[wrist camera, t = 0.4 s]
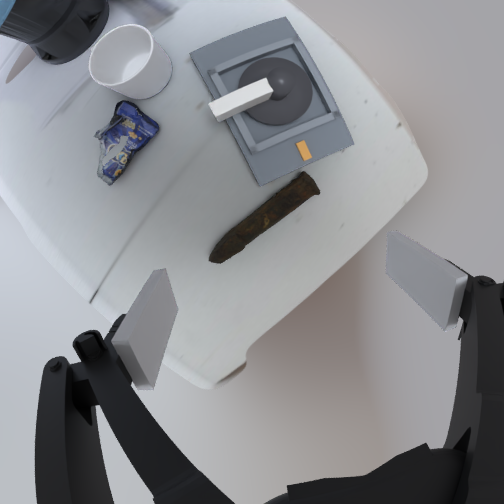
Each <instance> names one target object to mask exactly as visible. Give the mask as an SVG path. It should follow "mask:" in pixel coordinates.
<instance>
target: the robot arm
mask: <svg viewBox="0 0 504 504" xmlns="http://www.w3.org/2000/svg"><path fill="white" fill-rule="evenodd" d="M108 15H109V6H108V3H107V1H106V0H0V34H1V35H4V36H7V37H10V38H13V39H16V40H19V41H22V42H25V43H27V44H29V45H30V46H31V48H32V49H33V50H34V52H35V53H36V54H37V56H38V57H39V58H40V59H42V60H43V61H46V62H48V63H51V64H62V63H65V62H68V61H70V60H72V59H74V58H76V57H77V56H79V55H80V54H81V53H83V52H84V51H85V50H86V49H87V48H88V47H89V46H90V45H91V44H92V43H93V42H94V41H95V40H96V39H97V37H98V36H99V35H100V33H101V32H102V30H103V28H104V26H105V24H106V22H107V19H108ZM386 255H387V256H386V274H387V275H388V276H389V277H390V278H391V279H392V280H393V281H394V282H395V283H396V284H398V285H399V286H400V287H401V288H402V289H403V290H404V291H405V292H406V293H407V294H408V295H409V296H410V297H411V298H412V299H413V300H414V301H415V302H416V303H417V304H418V305H419V306H420V307H421V308H422V309H423V310H424V311H425V312H426V313H427V314H428V315H429V316H430V317H431V318H432V319H433V320H434V321H435V322H436V323H437V324H438V325H439V326H440V327H441V328H442V329H443V330H444V331H445V332H446V331H448V330H451V329H453V328H455V327H456V326H457V322H458V318H459V316H460V317H461V318H462V319H463V324H462V328H461V331H460V334H459V338H458V340H460V338H461V351H460V363H459V374H458V381H457V389H456V395H455V402H454V408H453V412H452V417H451V422H450V427H449V431H448V435H447V439H446V442H445V444H444V447H443V448H438V449H429V447H428V445H427V443H424V444H422V445H420V446H418V447H416V448H413V449H411V450H409V451H407V452H404V453H402V454H399V455H397V456H395V457H394V458H392V459H391V460H389V461H388V462H386V463H385V464H383V465H382V466H380V467H379V468H377V469H375V470H374V471H372V472H370V473H368V474H367V475H364V476H356V477H343V478H323V479H319V480H314V481H309V482H304V483H299V484H293V485H287V490H288V493H285V494H282V495H280V496H278V497H275V498H273V499H271V500H270V501H268V502H266V503H265V504H504V282H503V283H499V284H496V282H495V281H494V280H493V279H491V278H489V277H486V276H476V277H473V276H471V275H470V274H468V273H467V272H465V271H464V270H462V269H460V268H459V267H458V266H455V264H453V263H452V262H450V261H448V260H446V259H443V258H442V257H440V256H438V255H437V254H435V253H434V252H432V251H431V250H429V249H427V248H426V247H424V246H422V245H421V244H419V243H418V242H416V241H414V240H413V239H411V238H409V237H407V236H406V235H404V234H402V233H400V232H399V231H390V232H387V254H386ZM177 312H178V307H177V304H176V301H175V297H174V294H173V291H172V288H171V284H170V281H169V278H168V274H167V271H166V269H160V270H154V271H153V272H152V274H151V276H150V277H149V279H148V280H147V282H146V283H145V285H144V287H143V288H142V290H141V291H140V293H139V295H138V296H137V298H136V299H135V301H134V303H133V304H132V306H131V308H130V309H129V311H128V313H127V314H122V315H121V316H120V317H119V318H118V319H117V320H116V321H115V322H114V324H113V326H112V328H111V329H110V331H109V333H108V334H107V336H106V337H105V339H104V340H103V338H102V336H101V334H100V332H99V331H97V330H89V331H86V332H84V333H82V334H80V335H79V336H78V337H76V338H75V340H74V341H73V348H74V349H75V351H76V353H77V355H78V356H79V358H80V360H81V362H78V363H74V364H69V362H68V361H67V359H66V358H65V357H62V356H59V357H55V358H52V359H51V360H49V361H48V362H47V364H46V365H45V367H44V370H43V375H42V381H41V387H40V394H39V402H38V410H37V421H36V436H35V437H36V438H35V484H36V497H37V504H114V501H113V498H112V494H111V490H110V487H109V482H108V478H107V475H106V470H105V465H104V460H103V455H102V450H101V444H100V438H99V431H98V424H97V416H96V407H95V406H96V405H100V407H101V409H102V411H103V413H104V415H105V417H106V419H107V421H108V423H109V425H110V427H111V429H112V431H113V432H114V434H115V436H116V438H117V440H118V441H119V443H120V445H121V447H122V448H123V450H124V452H125V454H126V455H127V457H128V458H129V460H130V462H131V463H132V465H133V467H134V468H135V470H136V471H137V473H138V474H139V475H140V477H141V479H142V480H143V482H144V483H145V485H146V486H147V487H148V489H149V490H150V491H151V493H152V494H153V496H154V498H153V501H154V503H155V504H235V503H234V502H233V501H232V500H230V499H229V498H228V497H227V496H226V495H225V494H224V493H223V492H221V491H220V490H219V489H218V488H217V487H216V486H215V485H214V484H213V483H212V482H211V481H210V480H209V479H208V478H207V477H206V476H205V475H204V474H203V473H202V472H200V471H199V470H198V469H197V468H196V467H195V466H194V465H193V464H192V463H191V462H190V461H189V460H188V459H187V457H186V456H185V455H184V454H183V453H182V452H181V451H180V450H179V448H177V446H176V445H175V444H174V443H173V441H172V440H171V439H170V438H169V437H168V435H167V434H166V433H165V432H164V431H163V429H162V428H161V427H160V426H159V424H158V423H157V422H156V420H155V419H154V418H153V416H152V415H151V414H150V412H149V411H148V410H147V408H146V407H145V405H144V404H143V403H142V401H141V400H140V398H139V397H138V396H137V394H136V393H135V391H134V390H133V388H132V387H131V383H132V381H133V383H134V384H135V386H136V388H137V389H138V390H153V389H154V386H155V383H156V379H157V376H158V372H159V369H160V366H161V362H162V359H163V356H164V353H165V349H166V346H167V343H168V340H169V337H170V334H171V330H172V327H173V324H174V321H175V318H176V315H177Z"/></svg>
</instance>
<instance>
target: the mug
mask: <svg viewBox="0 0 504 504" xmlns="http://www.w3.org/2000/svg"><path fill="white" fill-rule="evenodd" d="M90 51H91V54H90V58H89V64H88V65H89V72H90V75H91V77H92V78H93V79H94V80H95V81H96V82H97V83H99V84H101V85H103V86H105V87H108V88H110V89H112V90H114V91H116V92H119V93H121V94H123V95H125V96H127V97H130V98H133V99H146V98H150V97H152V96H154V95H156V94H157V93H159V92H160V91H161V90H162V89H163V88H164V87H165V86H166V85H167V83H168V82H169V80H170V77H171V74H172V64H171V60H170V58H169V57H168V55H167V54H166V53H165V51H164V50H163V49H162V47H161V46H160V45H159V43H158V42H157V41H156V39H155V38H154V37H153V36H152V34H151V33H150V32H149V30H147V29H146V28H145V27H143V26H141V25H137V24H126V25H122V26H119V27H116V28H114V29H112V30H111V31H109V32H107V33H106V34H105V35H104V36H103V37H102V38H101V39H100V40H99V41H98V42H97V43H96V45H94V46H92V47H91V49H90Z"/></svg>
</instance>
